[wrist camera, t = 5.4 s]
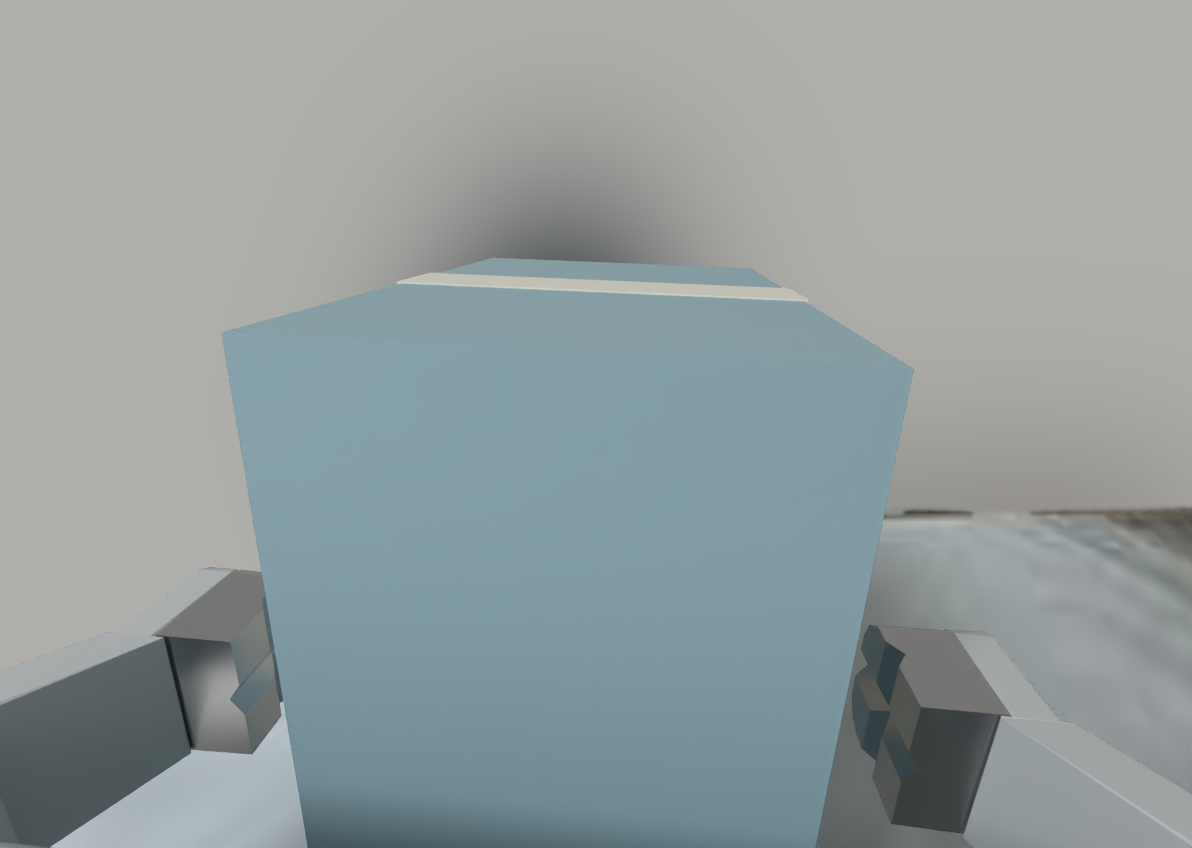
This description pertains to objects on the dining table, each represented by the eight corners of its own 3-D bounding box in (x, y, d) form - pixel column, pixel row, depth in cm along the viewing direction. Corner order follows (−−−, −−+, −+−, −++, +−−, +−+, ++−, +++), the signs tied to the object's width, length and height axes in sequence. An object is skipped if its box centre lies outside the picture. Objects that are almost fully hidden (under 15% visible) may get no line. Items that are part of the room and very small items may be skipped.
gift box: (698, 754, 16) (753, 267, 12) (734, 1255, 8) (921, 366, 4) (501, 733, 16) (490, 256, 12) (362, 1192, 9) (214, 329, 5)
